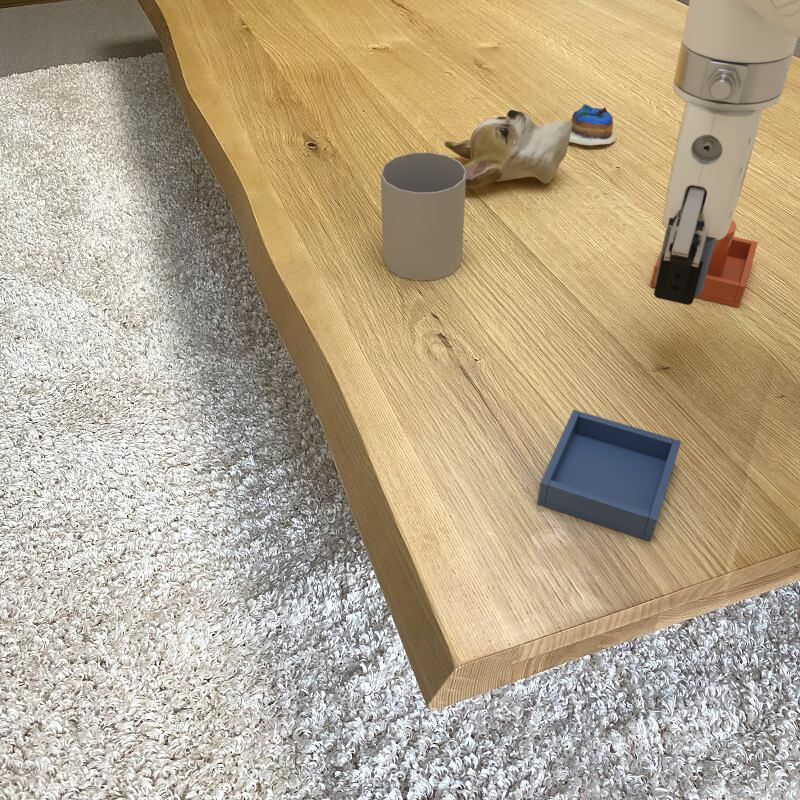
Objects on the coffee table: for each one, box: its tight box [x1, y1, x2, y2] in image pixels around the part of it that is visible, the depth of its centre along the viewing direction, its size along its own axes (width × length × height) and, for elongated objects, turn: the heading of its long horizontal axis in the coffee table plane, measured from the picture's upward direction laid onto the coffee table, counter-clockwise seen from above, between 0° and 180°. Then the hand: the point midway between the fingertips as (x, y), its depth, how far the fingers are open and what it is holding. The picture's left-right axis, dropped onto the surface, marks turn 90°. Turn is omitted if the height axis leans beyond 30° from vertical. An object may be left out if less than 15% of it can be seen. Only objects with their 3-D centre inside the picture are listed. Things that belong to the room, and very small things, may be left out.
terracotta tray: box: [649, 236, 759, 308], centre depth 85 cm, size 9×9×2 cm
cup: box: [380, 151, 466, 282], centre depth 86 cm, size 8×8×10 cm
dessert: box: [568, 103, 617, 146], centre depth 109 cm, size 8×7×6 cm
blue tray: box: [536, 409, 682, 542], centre depth 65 cm, size 9×9×2 cm
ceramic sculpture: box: [443, 109, 572, 189], centre depth 99 cm, size 11×9×15 cm
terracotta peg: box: [707, 219, 738, 278], centre depth 84 cm, size 4×4×6 cm
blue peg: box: [655, 219, 716, 298], centre depth 70 cm, size 4×4×6 cm
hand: (679, 282), depth 72 cm, fingers closed on blue peg, 4 cm apart
